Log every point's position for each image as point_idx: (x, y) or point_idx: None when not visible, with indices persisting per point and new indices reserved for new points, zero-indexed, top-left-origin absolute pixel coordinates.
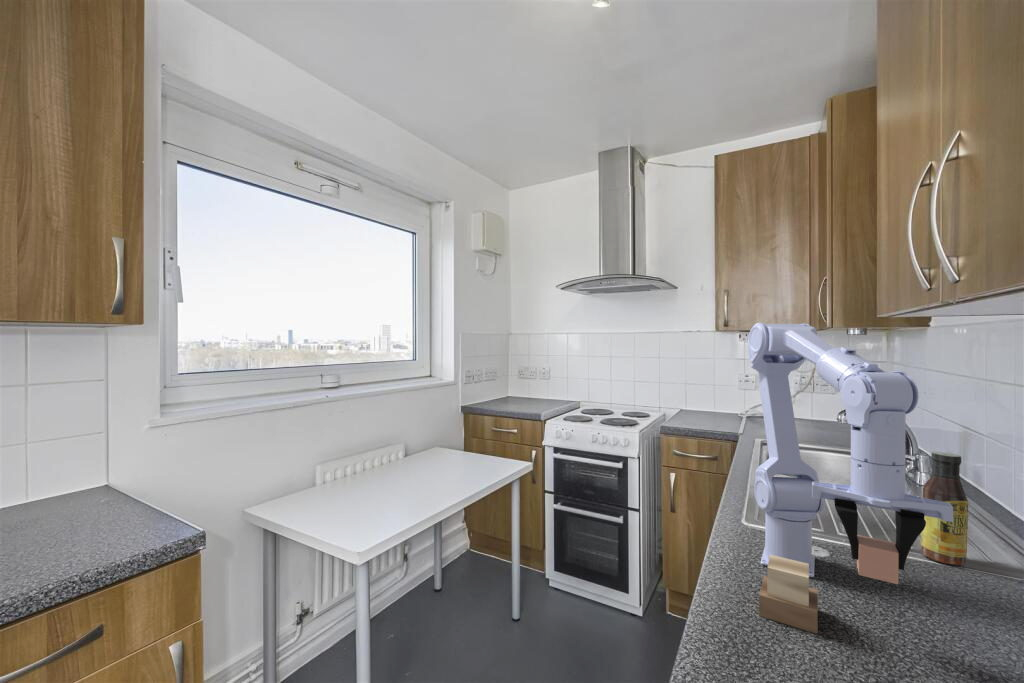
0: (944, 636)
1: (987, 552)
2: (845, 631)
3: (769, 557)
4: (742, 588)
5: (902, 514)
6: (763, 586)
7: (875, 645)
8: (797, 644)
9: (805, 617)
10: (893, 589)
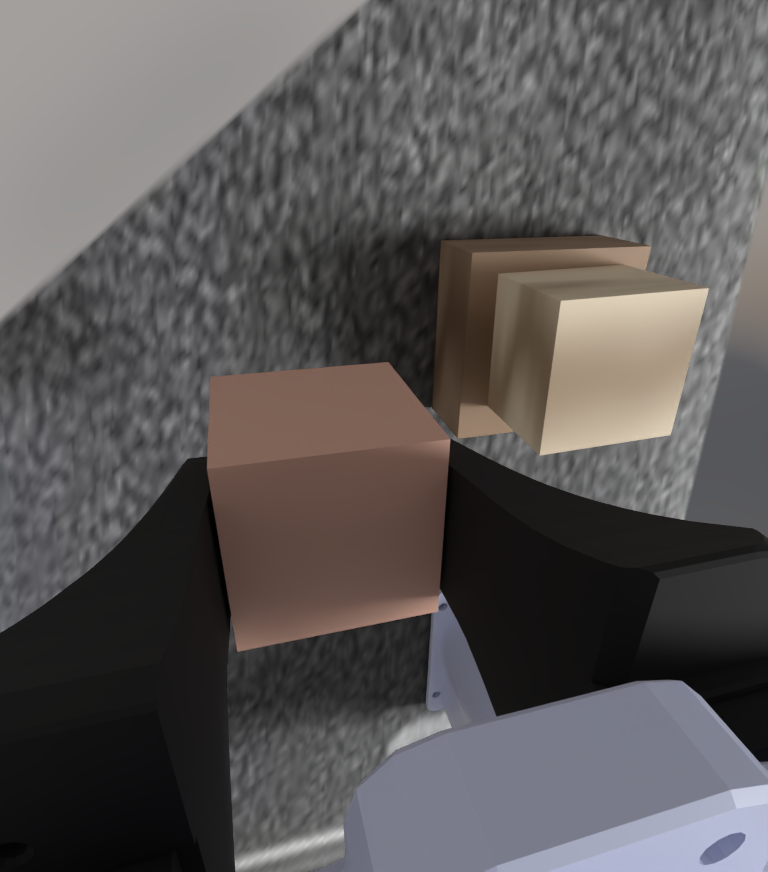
0: (95, 510)
1: None
2: (360, 326)
3: (677, 405)
4: None
5: (154, 862)
6: None
7: (277, 298)
8: (503, 116)
9: (494, 245)
10: (233, 683)
